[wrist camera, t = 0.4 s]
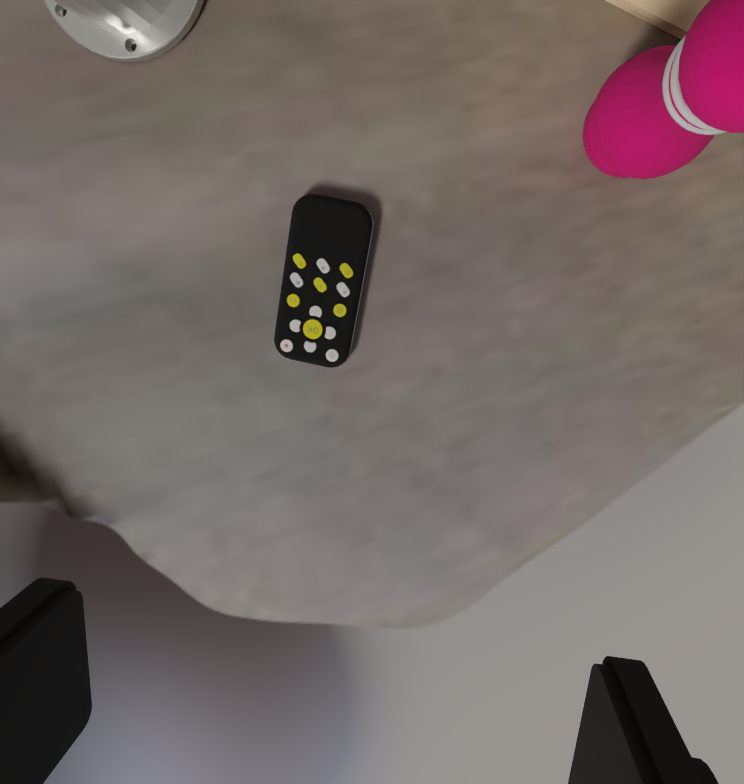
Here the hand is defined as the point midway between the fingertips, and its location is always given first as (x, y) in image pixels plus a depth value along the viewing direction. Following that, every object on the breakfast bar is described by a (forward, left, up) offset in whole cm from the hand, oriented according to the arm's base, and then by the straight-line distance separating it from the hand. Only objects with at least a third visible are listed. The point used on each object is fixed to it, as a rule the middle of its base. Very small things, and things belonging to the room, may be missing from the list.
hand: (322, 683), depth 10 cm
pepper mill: (+7, +20, -35) cm, 41 cm away
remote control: (-8, +1, -35) cm, 36 cm away
